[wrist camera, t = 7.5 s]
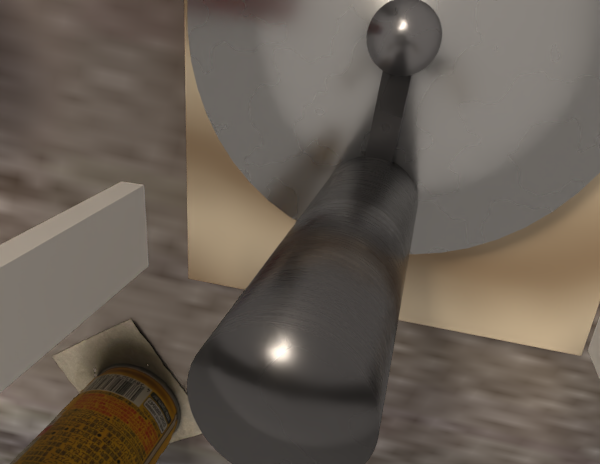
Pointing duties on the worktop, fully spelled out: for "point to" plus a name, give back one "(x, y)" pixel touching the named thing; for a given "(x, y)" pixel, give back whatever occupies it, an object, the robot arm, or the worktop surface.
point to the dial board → (421, 267)
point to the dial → (373, 185)
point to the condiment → (114, 405)
